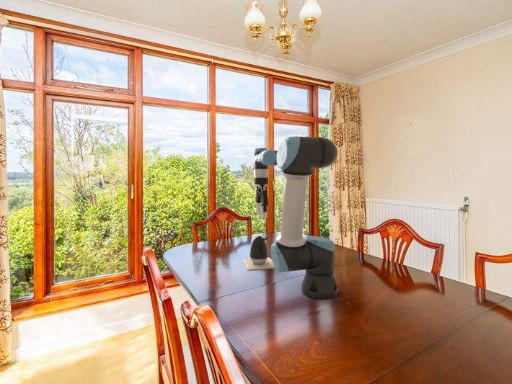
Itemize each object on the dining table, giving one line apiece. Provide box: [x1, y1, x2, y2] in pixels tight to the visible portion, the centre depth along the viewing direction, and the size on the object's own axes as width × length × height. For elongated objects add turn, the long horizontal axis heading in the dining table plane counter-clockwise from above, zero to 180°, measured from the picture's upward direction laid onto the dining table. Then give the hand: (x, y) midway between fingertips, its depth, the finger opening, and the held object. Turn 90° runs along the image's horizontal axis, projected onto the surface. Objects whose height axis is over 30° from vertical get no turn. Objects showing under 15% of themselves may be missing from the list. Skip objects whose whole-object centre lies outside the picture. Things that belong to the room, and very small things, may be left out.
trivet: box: [242, 256, 275, 271], centre depth 156 cm, size 16×16×1 cm
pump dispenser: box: [249, 235, 269, 264], centre depth 155 cm, size 10×10×15 cm
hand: (261, 216), depth 153 cm, fingers open, 13 cm apart
